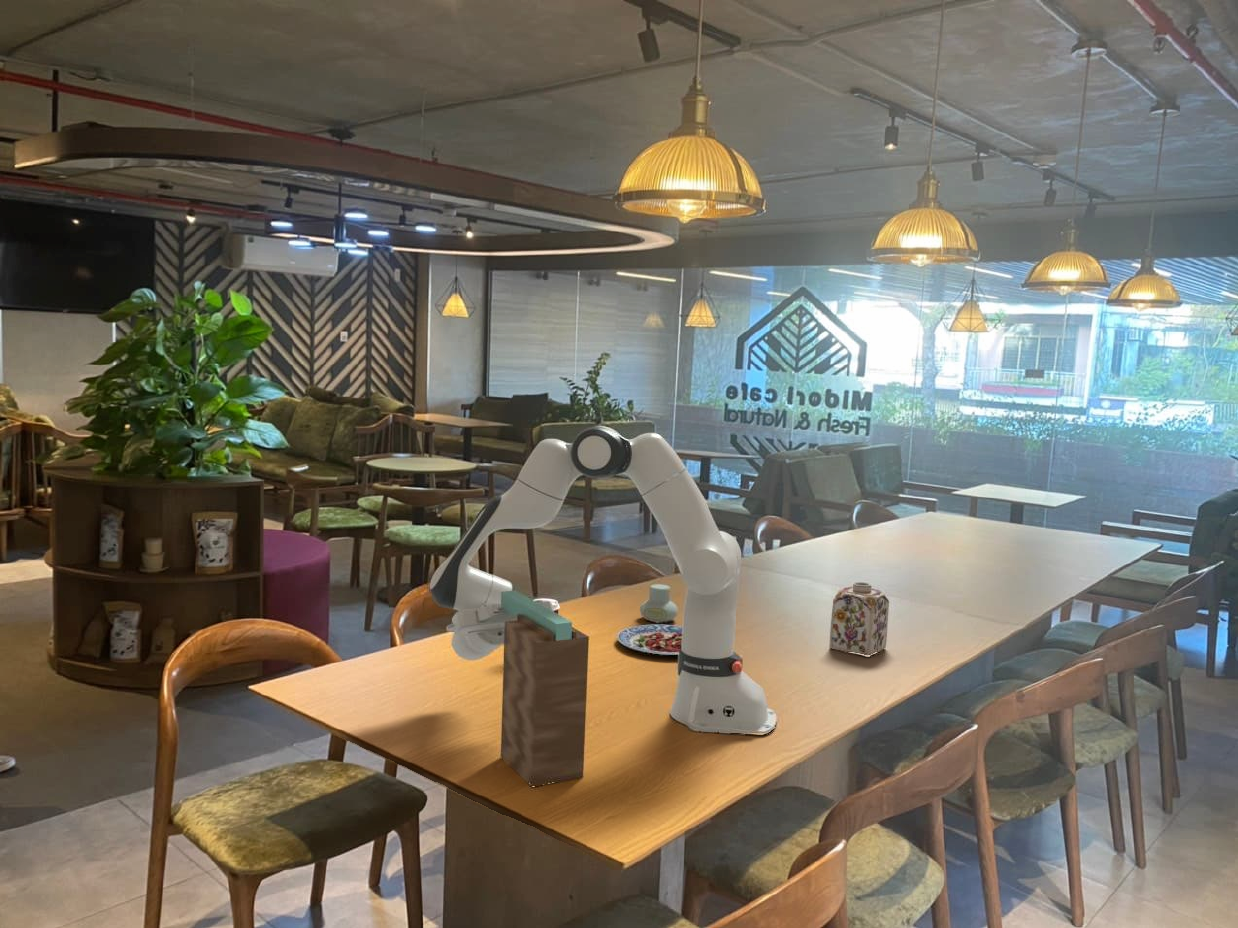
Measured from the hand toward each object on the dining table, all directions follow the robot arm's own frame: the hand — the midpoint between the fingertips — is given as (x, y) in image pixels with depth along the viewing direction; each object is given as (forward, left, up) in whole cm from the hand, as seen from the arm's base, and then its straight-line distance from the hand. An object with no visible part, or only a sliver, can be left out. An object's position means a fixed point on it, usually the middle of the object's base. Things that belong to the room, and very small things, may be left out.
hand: (517, 606), depth 185 cm
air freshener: (-8, -96, -27) cm, 100 cm away
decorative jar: (-64, -90, -27) cm, 114 cm away
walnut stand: (-9, +9, -27) cm, 30 cm away
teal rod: (-5, +5, -1) cm, 8 cm away
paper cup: (+12, -52, -27) cm, 60 cm away
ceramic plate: (-15, -73, -27) cm, 79 cm away
